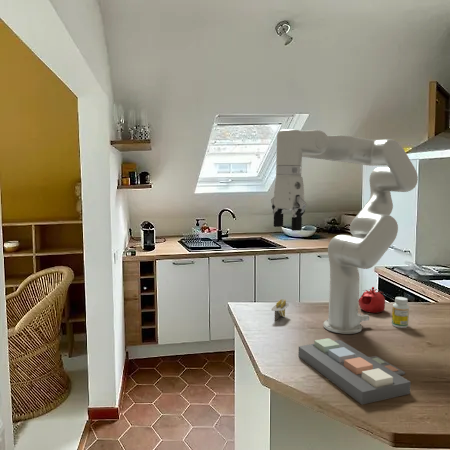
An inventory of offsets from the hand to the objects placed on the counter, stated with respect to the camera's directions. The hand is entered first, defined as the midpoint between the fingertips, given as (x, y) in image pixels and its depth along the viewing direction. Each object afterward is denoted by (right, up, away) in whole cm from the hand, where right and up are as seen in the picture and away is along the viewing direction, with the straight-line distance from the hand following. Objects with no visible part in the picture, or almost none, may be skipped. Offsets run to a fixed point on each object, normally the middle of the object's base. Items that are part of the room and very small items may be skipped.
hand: (287, 228), depth 135 cm
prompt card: (+24, -38, -14) cm, 47 cm away
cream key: (+18, -37, -28) cm, 50 cm away
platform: (+1, -33, +25) cm, 41 cm away
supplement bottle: (+41, -34, +18) cm, 56 cm away
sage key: (+10, -35, -9) cm, 37 cm away
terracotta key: (+15, -37, -22) cm, 45 cm away
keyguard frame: (+14, -38, -18) cm, 44 cm away
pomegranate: (+37, -32, +34) cm, 60 cm away
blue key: (+12, -36, -15) cm, 41 cm away
